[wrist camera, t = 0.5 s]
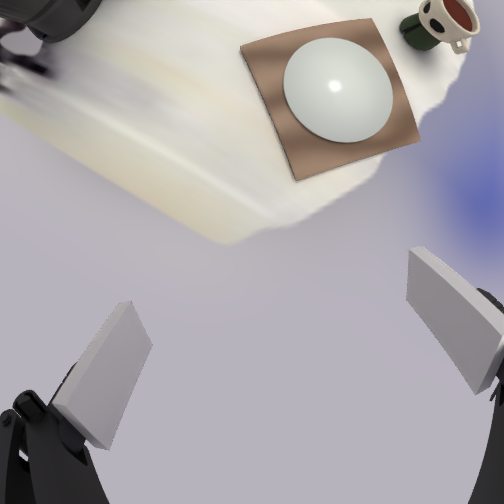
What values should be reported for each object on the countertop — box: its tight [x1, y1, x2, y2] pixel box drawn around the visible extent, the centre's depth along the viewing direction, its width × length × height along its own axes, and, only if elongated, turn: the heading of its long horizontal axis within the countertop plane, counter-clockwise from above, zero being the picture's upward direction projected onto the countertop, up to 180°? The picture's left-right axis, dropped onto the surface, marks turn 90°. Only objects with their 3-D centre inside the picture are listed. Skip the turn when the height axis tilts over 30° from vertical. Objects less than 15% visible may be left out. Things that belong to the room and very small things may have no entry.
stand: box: [240, 18, 421, 181], centre depth 31 cm, size 20×20×2 cm
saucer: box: [283, 38, 393, 142], centre depth 30 cm, size 15×15×1 cm
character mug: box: [401, 0, 480, 54], centre depth 20 cm, size 11×7×13 cm, turn 18°
